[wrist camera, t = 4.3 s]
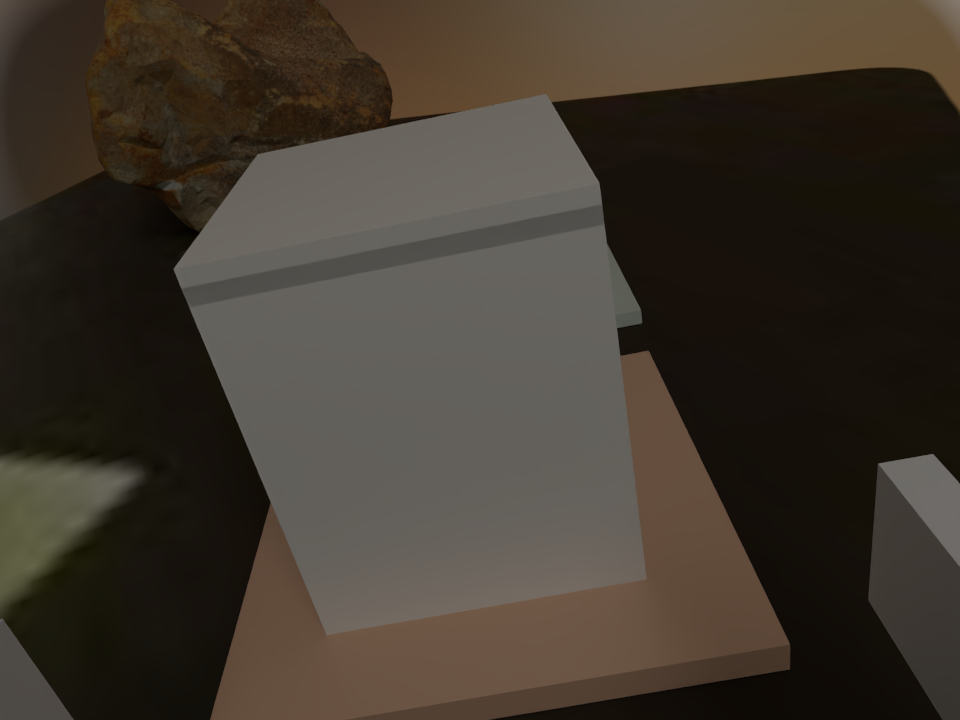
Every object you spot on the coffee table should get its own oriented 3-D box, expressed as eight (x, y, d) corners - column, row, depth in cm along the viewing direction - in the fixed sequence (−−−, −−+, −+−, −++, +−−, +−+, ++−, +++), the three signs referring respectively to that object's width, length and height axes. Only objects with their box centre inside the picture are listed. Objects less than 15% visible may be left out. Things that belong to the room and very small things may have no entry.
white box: (646, 579, 19) (599, 183, 14) (326, 634, 20) (173, 269, 15) (590, 401, 26) (546, 93, 21) (355, 445, 27) (257, 153, 22)
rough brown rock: (334, 272, 45) (275, -17, 38) (98, 264, 50) (5, 8, 43) (460, 155, 64) (438, -53, 57) (280, 158, 69) (238, -33, 62)
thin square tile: (790, 669, 17) (789, 644, 17) (216, 765, 18) (203, 743, 18) (650, 369, 29) (648, 350, 28) (301, 435, 29) (294, 417, 29)
